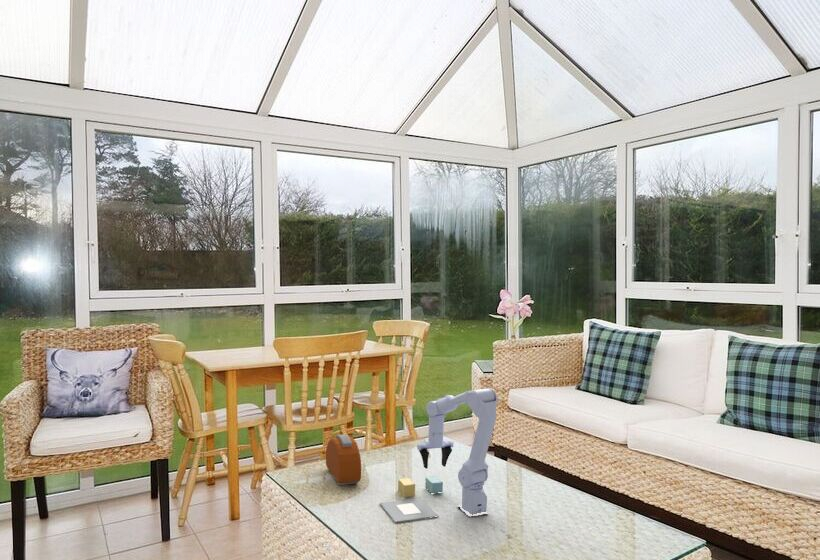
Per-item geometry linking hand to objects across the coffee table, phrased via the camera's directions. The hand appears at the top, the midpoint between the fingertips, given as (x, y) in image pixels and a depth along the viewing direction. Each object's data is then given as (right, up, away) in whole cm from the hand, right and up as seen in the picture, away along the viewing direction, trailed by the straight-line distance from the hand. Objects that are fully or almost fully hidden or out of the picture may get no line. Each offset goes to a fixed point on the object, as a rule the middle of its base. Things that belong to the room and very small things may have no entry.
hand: (434, 466), depth 220 cm
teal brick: (0, -10, 0) cm, 10 cm away
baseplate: (-10, -9, -19) cm, 23 cm away
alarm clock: (-37, -8, +11) cm, 40 cm away
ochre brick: (-11, -9, -3) cm, 15 cm away
